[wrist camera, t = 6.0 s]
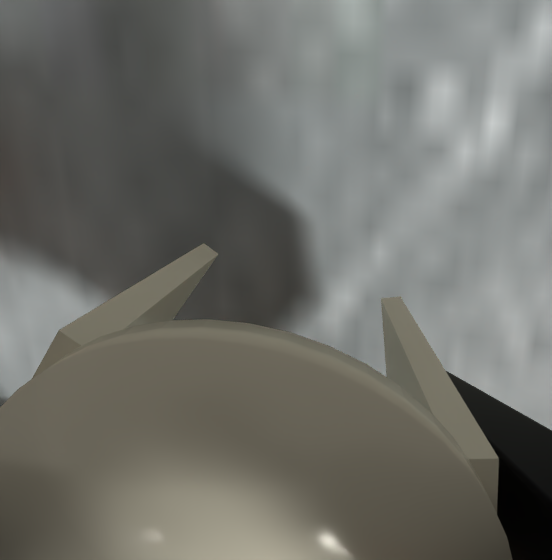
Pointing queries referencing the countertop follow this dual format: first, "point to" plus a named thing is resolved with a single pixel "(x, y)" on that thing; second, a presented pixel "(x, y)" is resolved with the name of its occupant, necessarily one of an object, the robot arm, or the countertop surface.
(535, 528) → the robot arm
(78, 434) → the cover
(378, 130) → the countertop surface
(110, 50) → the countertop surface
